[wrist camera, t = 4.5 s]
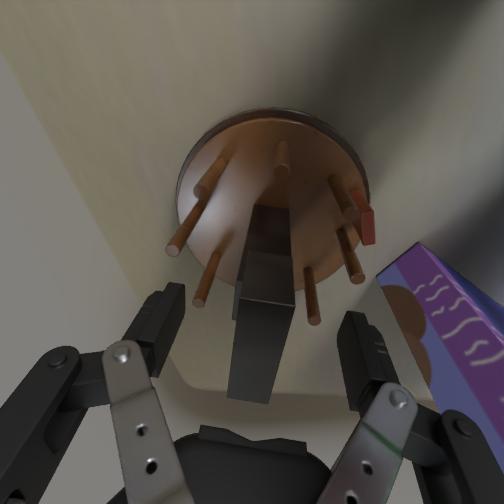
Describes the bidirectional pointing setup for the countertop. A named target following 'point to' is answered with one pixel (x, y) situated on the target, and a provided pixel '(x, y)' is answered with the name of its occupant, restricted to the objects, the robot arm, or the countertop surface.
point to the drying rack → (270, 232)
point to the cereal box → (451, 338)
